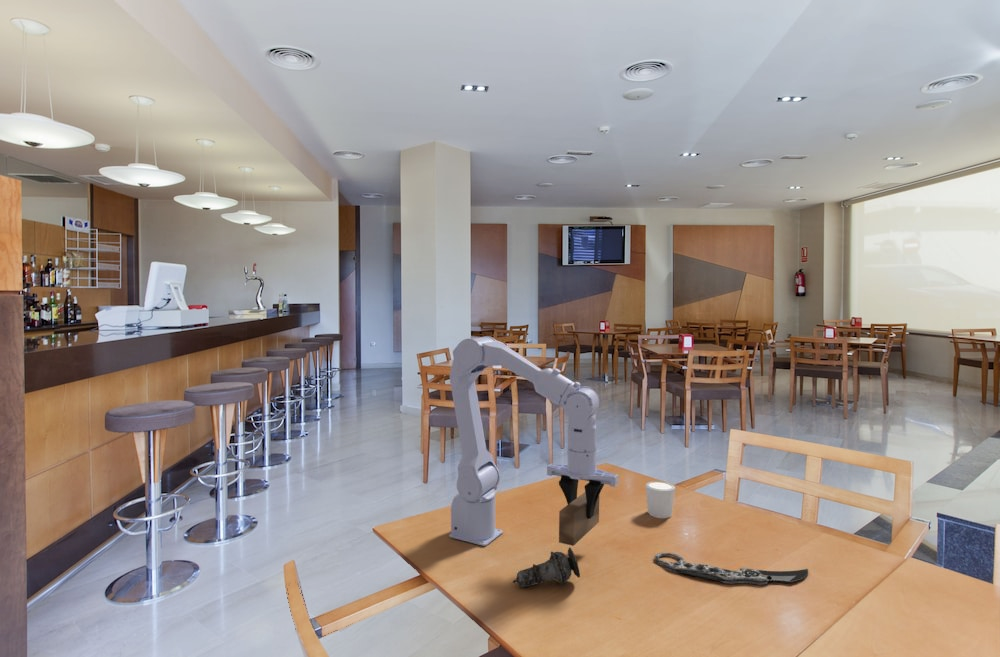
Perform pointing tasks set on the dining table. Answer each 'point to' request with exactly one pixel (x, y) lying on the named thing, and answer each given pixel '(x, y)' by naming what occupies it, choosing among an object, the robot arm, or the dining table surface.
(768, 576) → the knife
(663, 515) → the white cylinder
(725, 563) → the dining table surface
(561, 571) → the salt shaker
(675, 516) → the dining table surface
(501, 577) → the dining table surface
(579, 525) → the dark wooden brick
